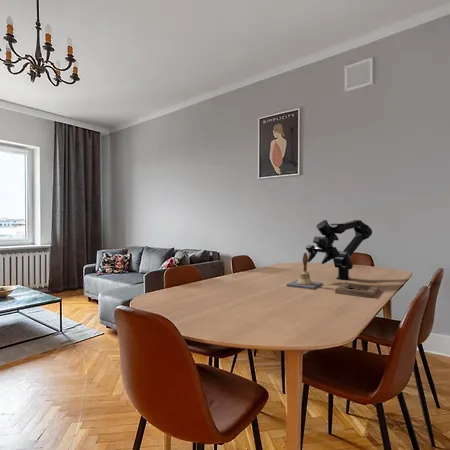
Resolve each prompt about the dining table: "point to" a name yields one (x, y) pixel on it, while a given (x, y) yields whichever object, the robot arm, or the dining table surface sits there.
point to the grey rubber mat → (313, 286)
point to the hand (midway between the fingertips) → (315, 262)
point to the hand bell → (305, 273)
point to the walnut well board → (345, 290)
